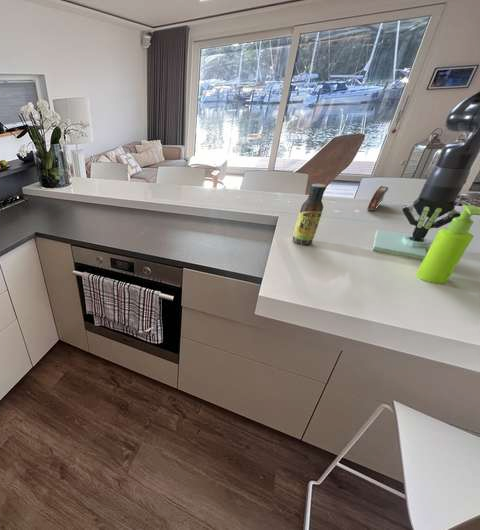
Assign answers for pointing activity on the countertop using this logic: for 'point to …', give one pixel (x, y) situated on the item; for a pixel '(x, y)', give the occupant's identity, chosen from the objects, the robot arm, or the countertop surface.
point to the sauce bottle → (309, 215)
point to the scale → (400, 244)
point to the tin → (377, 197)
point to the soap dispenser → (448, 248)
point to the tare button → (417, 239)
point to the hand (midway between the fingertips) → (417, 238)
